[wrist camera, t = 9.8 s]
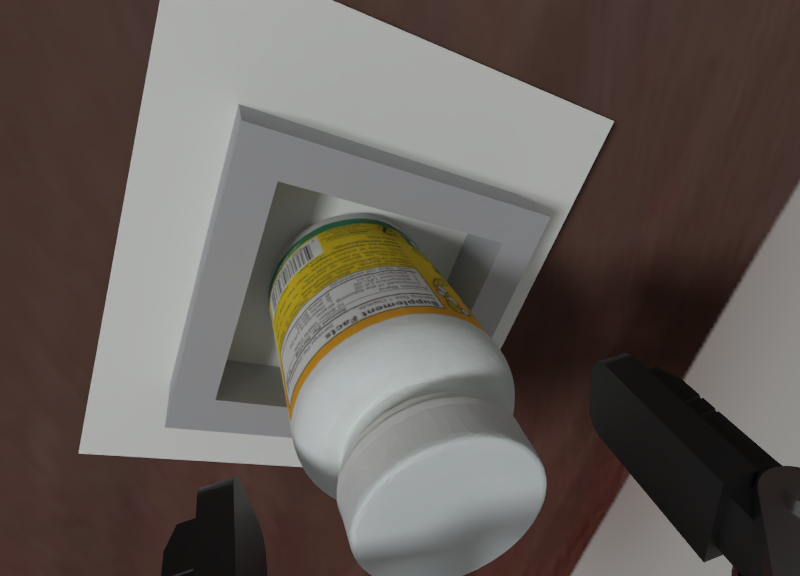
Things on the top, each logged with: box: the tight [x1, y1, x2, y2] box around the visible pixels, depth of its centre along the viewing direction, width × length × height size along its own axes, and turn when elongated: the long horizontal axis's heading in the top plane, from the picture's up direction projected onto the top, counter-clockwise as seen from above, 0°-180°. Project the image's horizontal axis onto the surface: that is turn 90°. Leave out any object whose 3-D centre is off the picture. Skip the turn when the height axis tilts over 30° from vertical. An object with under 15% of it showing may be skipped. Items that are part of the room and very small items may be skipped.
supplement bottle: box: [268, 214, 547, 576], centre depth 14 cm, size 5×5×10 cm
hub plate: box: [79, 0, 614, 467], centre depth 18 cm, size 16×14×3 cm
